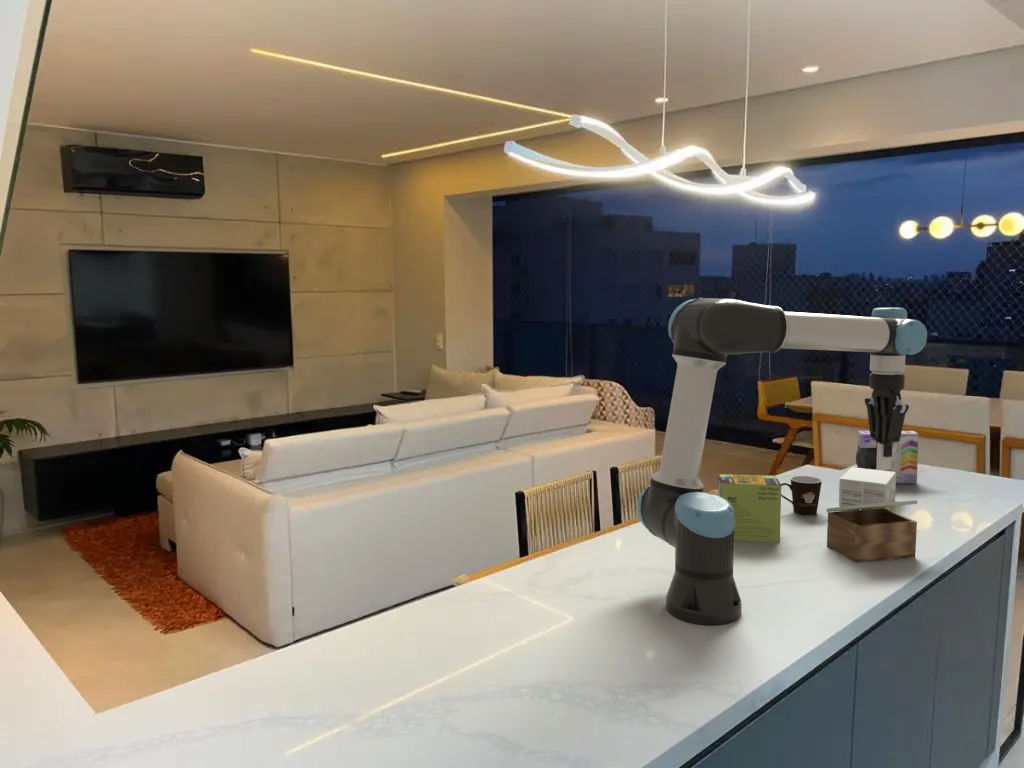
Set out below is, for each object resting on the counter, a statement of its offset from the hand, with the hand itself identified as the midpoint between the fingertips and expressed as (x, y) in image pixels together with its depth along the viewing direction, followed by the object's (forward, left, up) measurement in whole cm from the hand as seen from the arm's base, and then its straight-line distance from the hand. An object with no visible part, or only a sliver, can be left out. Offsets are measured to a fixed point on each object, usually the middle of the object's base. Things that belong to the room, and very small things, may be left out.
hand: (883, 469), depth 181 cm
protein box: (-23, +22, -22) cm, 39 cm away
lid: (0, +4, -11) cm, 11 cm away
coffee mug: (+2, +38, -22) cm, 44 cm away
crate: (0, +3, -22) cm, 22 cm away
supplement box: (+26, +41, -22) cm, 54 cm away
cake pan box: (+48, +62, -22) cm, 82 cm away
